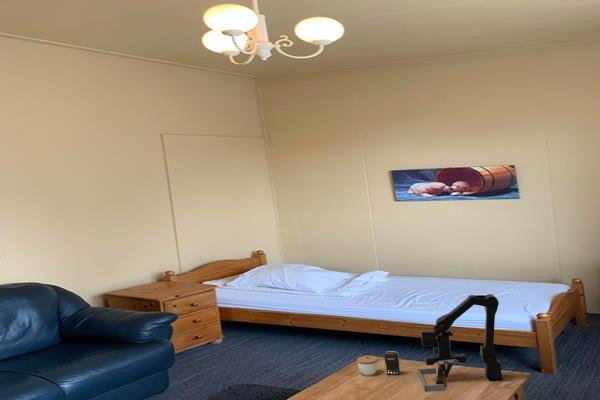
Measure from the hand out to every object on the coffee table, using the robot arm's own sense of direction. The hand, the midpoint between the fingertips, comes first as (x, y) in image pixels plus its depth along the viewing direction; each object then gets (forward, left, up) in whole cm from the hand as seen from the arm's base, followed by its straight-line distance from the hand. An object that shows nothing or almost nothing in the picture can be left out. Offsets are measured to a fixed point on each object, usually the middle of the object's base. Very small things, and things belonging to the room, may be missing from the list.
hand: (446, 377), depth 280 cm
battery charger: (+24, -14, -2) cm, 28 cm away
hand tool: (+3, -1, -2) cm, 4 cm away
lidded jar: (+36, -18, -2) cm, 40 cm away
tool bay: (+7, 0, -2) cm, 7 cm away
